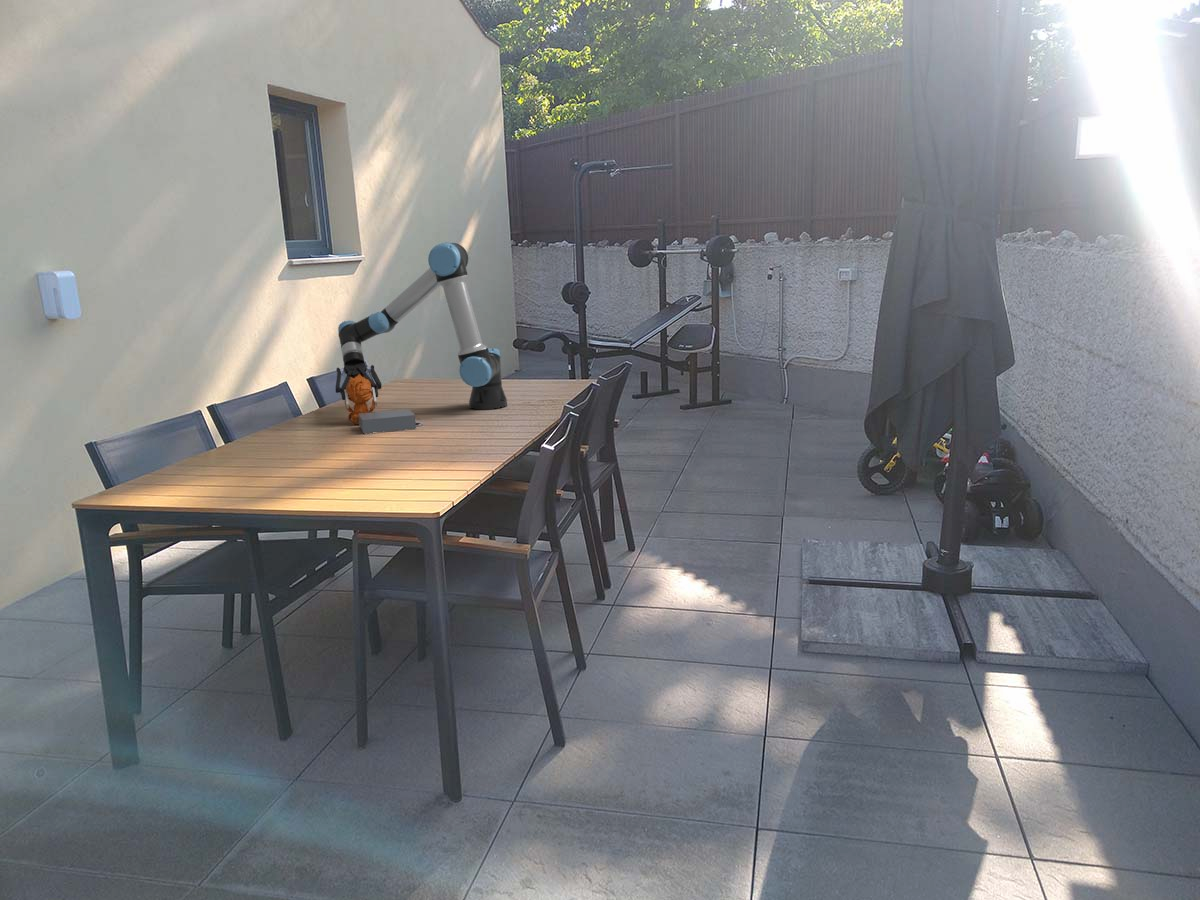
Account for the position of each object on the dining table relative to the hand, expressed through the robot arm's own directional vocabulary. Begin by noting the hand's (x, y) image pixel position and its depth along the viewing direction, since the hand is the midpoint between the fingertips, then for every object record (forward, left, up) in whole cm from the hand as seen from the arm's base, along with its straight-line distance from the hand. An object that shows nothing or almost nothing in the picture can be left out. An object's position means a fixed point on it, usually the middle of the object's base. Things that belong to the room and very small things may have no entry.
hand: (361, 404), depth 328 cm
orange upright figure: (0, -3, -8) cm, 8 cm away
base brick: (-7, +12, -7) cm, 16 cm away
